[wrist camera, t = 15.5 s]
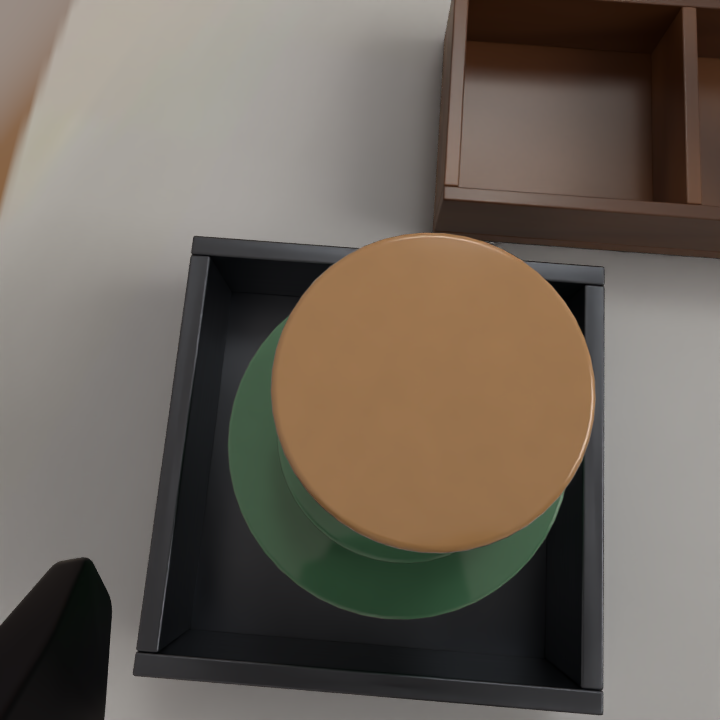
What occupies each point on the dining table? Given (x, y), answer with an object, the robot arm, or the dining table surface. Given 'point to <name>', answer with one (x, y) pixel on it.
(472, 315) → the green corked bottle
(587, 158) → the wooden box
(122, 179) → the dining table surface
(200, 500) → the tray
